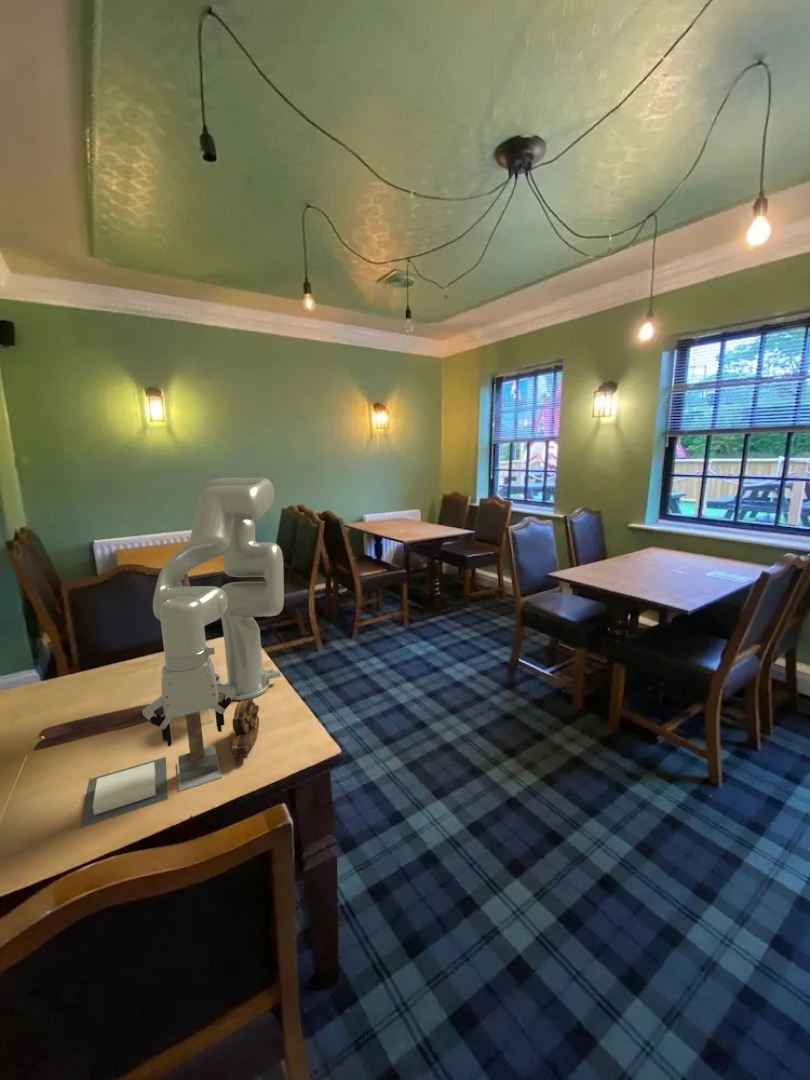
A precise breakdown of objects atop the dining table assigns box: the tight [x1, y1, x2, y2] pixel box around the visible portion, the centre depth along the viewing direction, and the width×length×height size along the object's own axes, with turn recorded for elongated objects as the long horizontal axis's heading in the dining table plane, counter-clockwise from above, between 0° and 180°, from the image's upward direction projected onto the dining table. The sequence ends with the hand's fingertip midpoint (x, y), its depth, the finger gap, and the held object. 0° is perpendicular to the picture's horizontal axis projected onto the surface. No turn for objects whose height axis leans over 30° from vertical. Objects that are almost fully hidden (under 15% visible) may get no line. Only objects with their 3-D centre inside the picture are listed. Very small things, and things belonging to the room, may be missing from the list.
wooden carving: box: [231, 697, 260, 761], centre depth 103 cm, size 16×5×10 cm, turn 12°
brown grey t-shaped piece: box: [177, 711, 218, 782], centre depth 93 cm, size 7×3×15 cm, turn 118°
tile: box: [93, 762, 156, 815], centre depth 88 cm, size 10×2×8 cm
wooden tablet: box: [34, 703, 164, 752], centre depth 112 cm, size 26×2×10 cm
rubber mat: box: [79, 756, 169, 829], centre depth 90 cm, size 14×14×1 cm
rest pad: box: [176, 751, 223, 793], centre depth 95 cm, size 8×9×1 cm
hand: (194, 735), depth 93 cm, fingers open, 9 cm apart
